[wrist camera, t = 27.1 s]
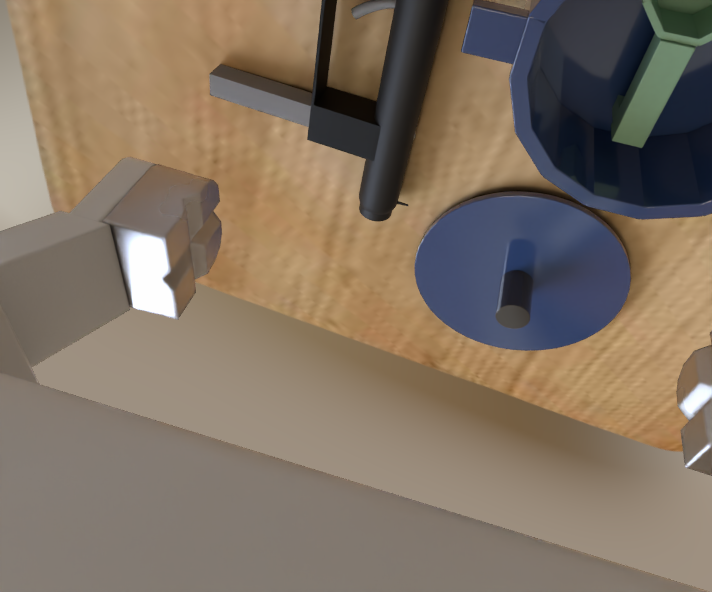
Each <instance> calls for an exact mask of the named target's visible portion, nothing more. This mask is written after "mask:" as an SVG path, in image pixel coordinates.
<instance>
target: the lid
mask: <svg viewBox="0 0 712 592" xmlns="http://www.w3.org/2000/svg"><path fill="white" fill-rule="evenodd" d="M415 277H416V283H417V286H418V289H419V291H420V294H421V296H422V297H423V299H424V301H425V303H426V304H427V305H428V307H429V308H430V309H431V311H432V312H433V313H434V314H435V315H436V316H437V317H438V318H439V319H440V320H442V321H443V322H444V323H445V324H446V325H448V326H449V327H451V328H452V329H454V330H455V331H457V332H459V333H460V334H462V335H464V336H466V337H468V338H471V339H473V340H475V341H478V342H481V343H484V344H487V345H490V346H495V347H499V348H505V349H512V350H525V351H528V350H546V349H553V348H558V347H563V346H567V345H570V344H573V343H576V342H579V341H581V340H583V339H586V338H588V337H590V336H591V335H593V334H595V333H597V332H598V331H600V330H601V329H602V328H604V327H605V326H606V325H607V324H608V323H610V322H611V321H612V320H613V319H614V318H615V316H616V315H617V314H618V313H619V311H620V310H621V308H622V307H623V305H624V303H625V301H626V299H627V296H628V293H629V290H630V283H631V272H630V262H629V258H628V255H627V252H626V250H625V248H624V245H623V243H622V242H621V240H620V239H619V237H618V236H617V234H616V233H615V232H614V231H613V230H612V229H611V228H610V227H609V225H608V224H607V223H606V222H604V221H603V220H602V219H601V218H599V217H598V216H597V215H596V214H594V213H592V212H591V211H589V210H587V209H586V208H584V207H582V206H580V205H578V204H576V203H573V202H571V201H569V200H566V199H563V198H559V197H556V196H553V195H547V194H542V193H536V192H525V191H511V192H500V193H492V194H487V195H483V196H479V197H476V198H473V199H470V200H468V201H465V202H463V203H461V204H459V205H457V206H455V207H453V208H451V209H450V210H448V211H447V212H445V213H444V214H443V215H441V216H440V217H439V218H438V219H437V220H436V221H435V222H434V223H433V224H432V225H431V226H430V227H429V229H428V230H427V231H426V233H425V234H424V236H423V238H422V240H421V242H420V245H419V248H418V250H417V254H416V259H415Z"/></svg>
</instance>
